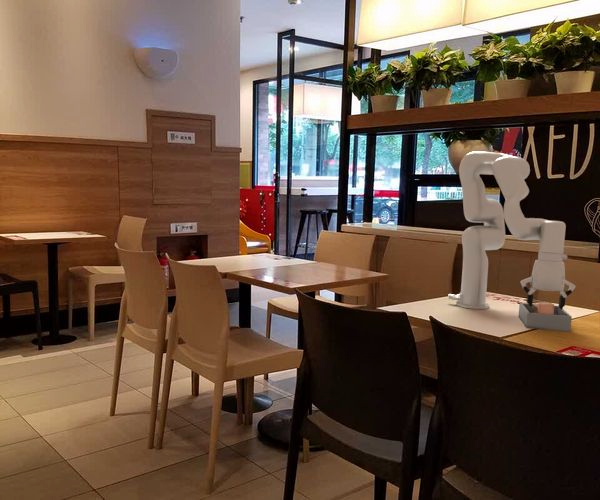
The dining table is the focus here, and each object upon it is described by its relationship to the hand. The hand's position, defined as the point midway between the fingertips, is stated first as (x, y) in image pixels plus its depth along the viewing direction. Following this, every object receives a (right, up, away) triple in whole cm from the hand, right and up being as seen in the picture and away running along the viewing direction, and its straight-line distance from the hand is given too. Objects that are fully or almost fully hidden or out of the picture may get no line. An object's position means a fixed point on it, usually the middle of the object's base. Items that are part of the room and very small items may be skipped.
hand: (545, 307), depth 191 cm
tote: (+1, -6, +3) cm, 7 cm away
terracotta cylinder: (0, -6, 0) cm, 6 cm away
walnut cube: (+1, -5, +7) cm, 9 cm away
